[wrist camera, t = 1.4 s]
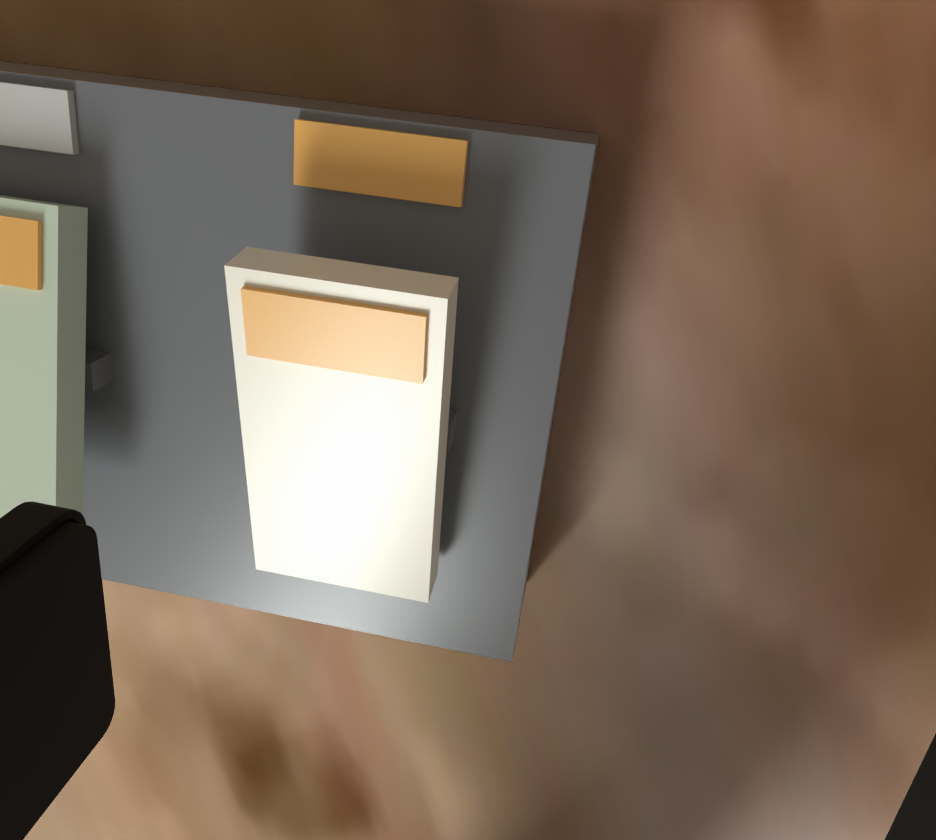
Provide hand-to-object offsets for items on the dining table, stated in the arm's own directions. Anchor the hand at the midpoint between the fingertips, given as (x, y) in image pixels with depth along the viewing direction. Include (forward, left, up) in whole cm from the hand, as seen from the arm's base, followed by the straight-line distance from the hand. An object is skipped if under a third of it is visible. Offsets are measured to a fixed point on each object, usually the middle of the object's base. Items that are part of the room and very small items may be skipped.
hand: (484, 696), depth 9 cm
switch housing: (-4, +12, -21) cm, 25 cm away
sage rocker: (-4, +18, -15) cm, 24 cm away
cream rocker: (-4, +6, -15) cm, 17 cm away
